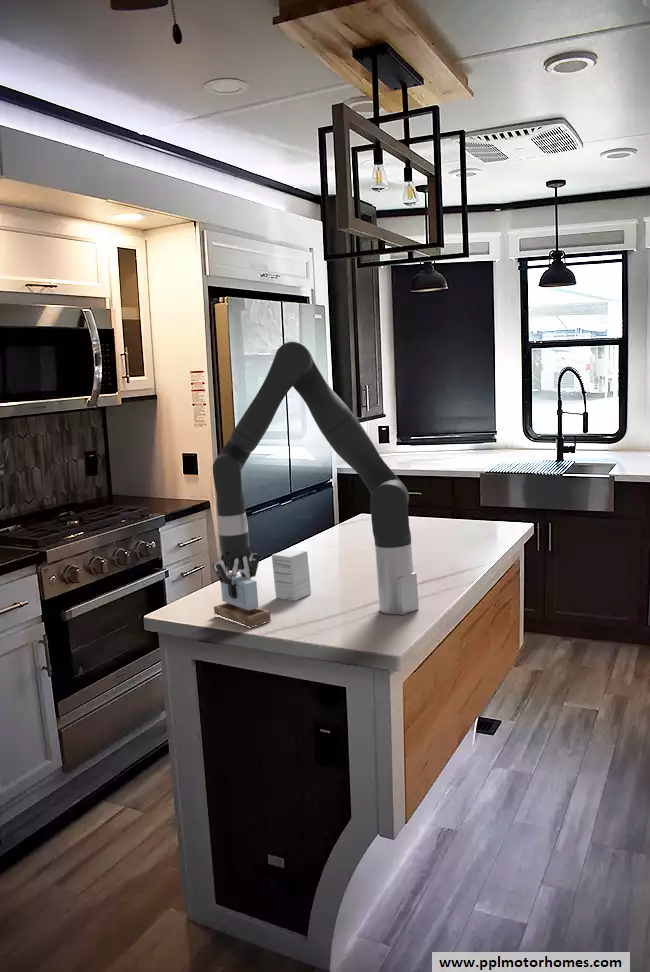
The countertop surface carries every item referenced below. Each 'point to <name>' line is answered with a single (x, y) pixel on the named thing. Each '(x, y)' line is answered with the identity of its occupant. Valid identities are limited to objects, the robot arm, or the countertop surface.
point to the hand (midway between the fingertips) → (240, 596)
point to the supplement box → (291, 574)
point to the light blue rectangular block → (242, 593)
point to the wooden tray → (243, 614)
